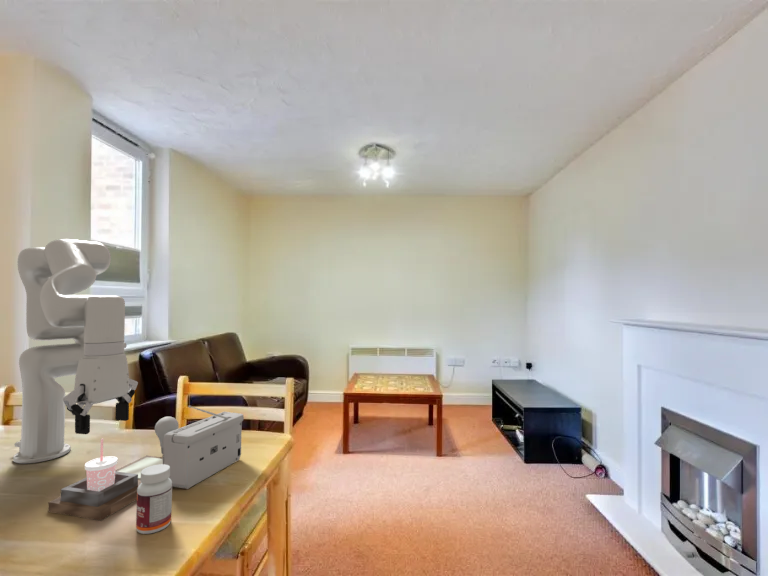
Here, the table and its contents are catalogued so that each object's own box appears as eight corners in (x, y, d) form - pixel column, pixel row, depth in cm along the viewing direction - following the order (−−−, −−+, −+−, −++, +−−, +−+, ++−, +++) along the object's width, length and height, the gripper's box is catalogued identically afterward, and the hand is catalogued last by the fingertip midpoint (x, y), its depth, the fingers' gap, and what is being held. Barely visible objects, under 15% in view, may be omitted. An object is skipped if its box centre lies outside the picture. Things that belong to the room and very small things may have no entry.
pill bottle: (131, 526, 79) (132, 469, 80) (164, 514, 84) (165, 460, 84) (142, 539, 75) (144, 479, 76) (176, 525, 80) (177, 468, 80)
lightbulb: (167, 459, 112) (168, 420, 112) (149, 458, 113) (149, 419, 114) (182, 451, 118) (183, 414, 118) (164, 450, 119) (165, 413, 120)
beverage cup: (80, 511, 85) (82, 445, 85) (86, 498, 90) (88, 436, 91) (115, 505, 88) (116, 441, 88) (118, 492, 93) (120, 432, 94)
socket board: (48, 511, 85) (48, 490, 85) (146, 462, 110) (147, 446, 110) (101, 520, 82) (101, 498, 82) (190, 468, 107) (190, 451, 107)
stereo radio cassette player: (222, 455, 116) (223, 386, 116) (245, 459, 113) (246, 389, 113) (160, 487, 96) (161, 404, 97) (186, 493, 93) (188, 407, 94)
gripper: (123, 345, 99) (122, 414, 98) (51, 354, 82) (49, 438, 82) (149, 346, 97) (148, 416, 97) (80, 355, 81) (79, 440, 80)
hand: (103, 426), depth 89 cm, fingers open, 9 cm apart
